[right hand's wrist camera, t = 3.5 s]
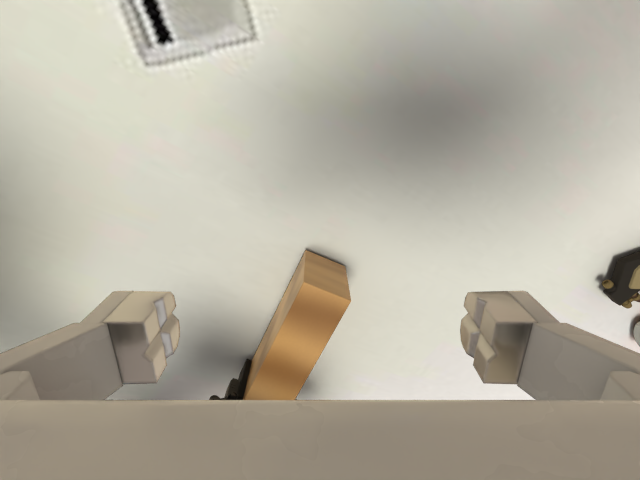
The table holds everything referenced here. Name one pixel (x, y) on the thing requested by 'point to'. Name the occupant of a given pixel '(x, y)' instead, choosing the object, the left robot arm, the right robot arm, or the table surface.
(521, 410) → the right robot arm
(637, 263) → the spray gun
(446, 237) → the table surface
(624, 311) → the table surface
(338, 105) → the table surface
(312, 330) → the bar
